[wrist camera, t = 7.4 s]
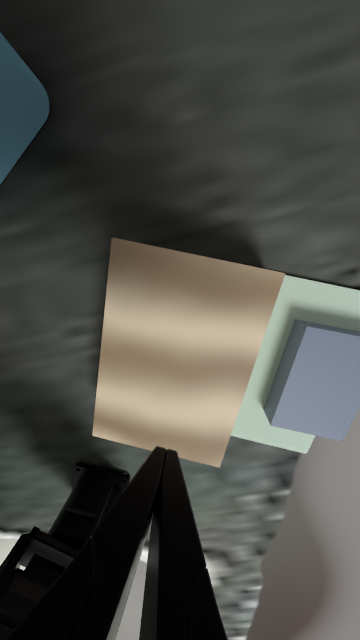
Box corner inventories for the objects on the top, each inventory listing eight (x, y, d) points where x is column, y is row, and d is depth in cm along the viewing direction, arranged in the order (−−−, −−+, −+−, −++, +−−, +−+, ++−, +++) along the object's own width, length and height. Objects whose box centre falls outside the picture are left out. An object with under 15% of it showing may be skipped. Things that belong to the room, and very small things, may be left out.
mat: (304, 451, 20) (306, 453, 20) (216, 429, 21) (216, 432, 20) (380, 294, 16) (383, 295, 16) (265, 271, 16) (266, 271, 16)
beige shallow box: (216, 429, 21) (219, 467, 17) (111, 404, 21) (92, 435, 17) (265, 271, 16) (285, 273, 12) (132, 243, 17) (111, 237, 13)
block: (270, 425, 17) (263, 409, 19) (342, 441, 17) (328, 423, 19) (306, 326, 15) (294, 319, 17) (391, 342, 15) (369, 333, 17)
